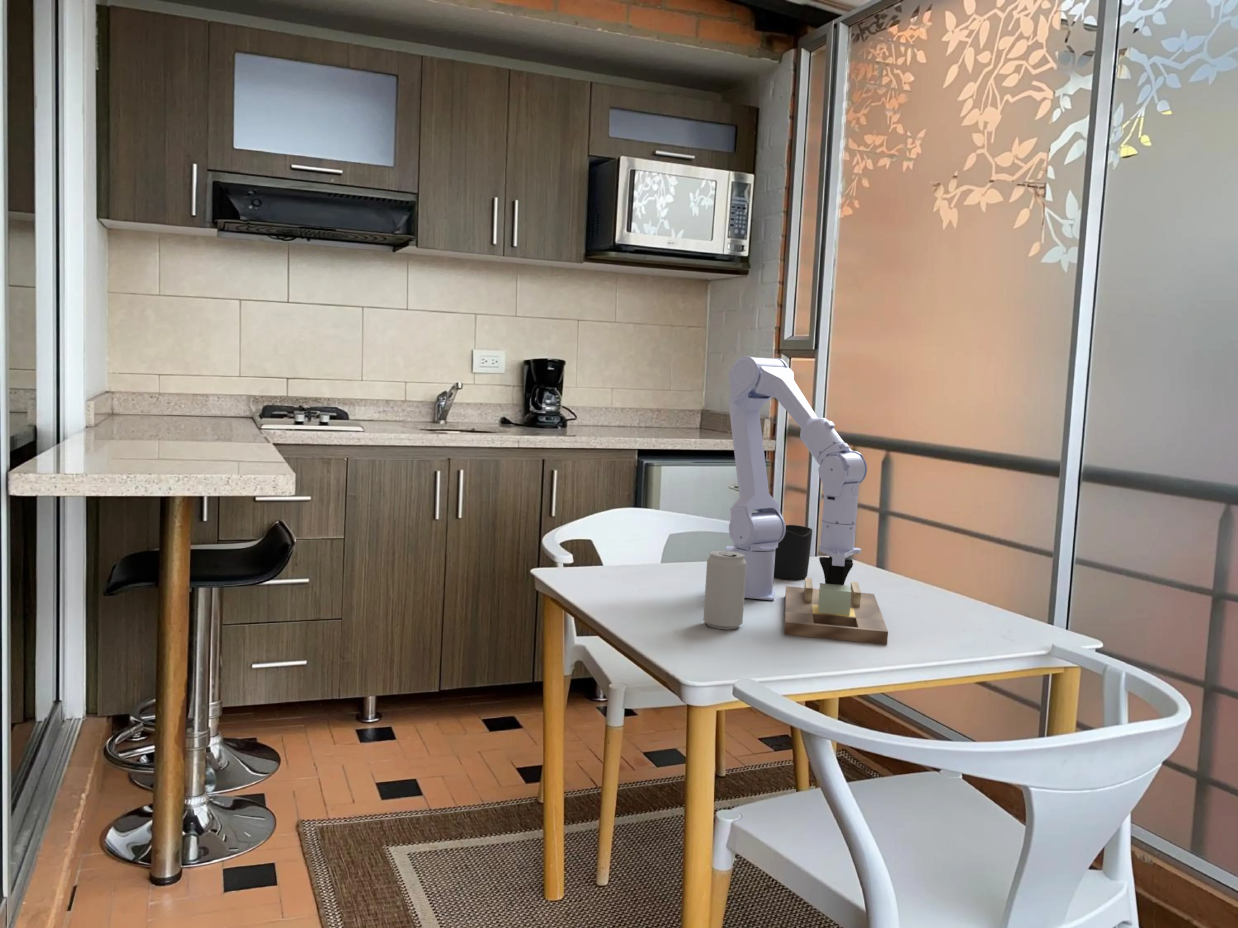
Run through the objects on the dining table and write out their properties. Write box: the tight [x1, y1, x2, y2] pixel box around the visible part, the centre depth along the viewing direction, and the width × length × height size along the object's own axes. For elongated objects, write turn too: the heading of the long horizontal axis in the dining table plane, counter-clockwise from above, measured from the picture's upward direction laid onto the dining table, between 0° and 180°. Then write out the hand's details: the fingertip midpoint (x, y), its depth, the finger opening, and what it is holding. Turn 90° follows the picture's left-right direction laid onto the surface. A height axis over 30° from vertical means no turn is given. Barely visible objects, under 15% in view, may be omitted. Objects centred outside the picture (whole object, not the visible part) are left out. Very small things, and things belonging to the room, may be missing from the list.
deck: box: [783, 577, 889, 645], centre depth 178 cm, size 16×28×4 cm, turn 171°
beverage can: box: [703, 550, 746, 631], centre depth 169 cm, size 6×6×12 cm
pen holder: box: [773, 524, 813, 581], centre depth 212 cm, size 9×9×10 cm
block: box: [818, 582, 851, 615], centre depth 175 cm, size 5×5×4 cm
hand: (833, 599), depth 179 cm, fingers closed
